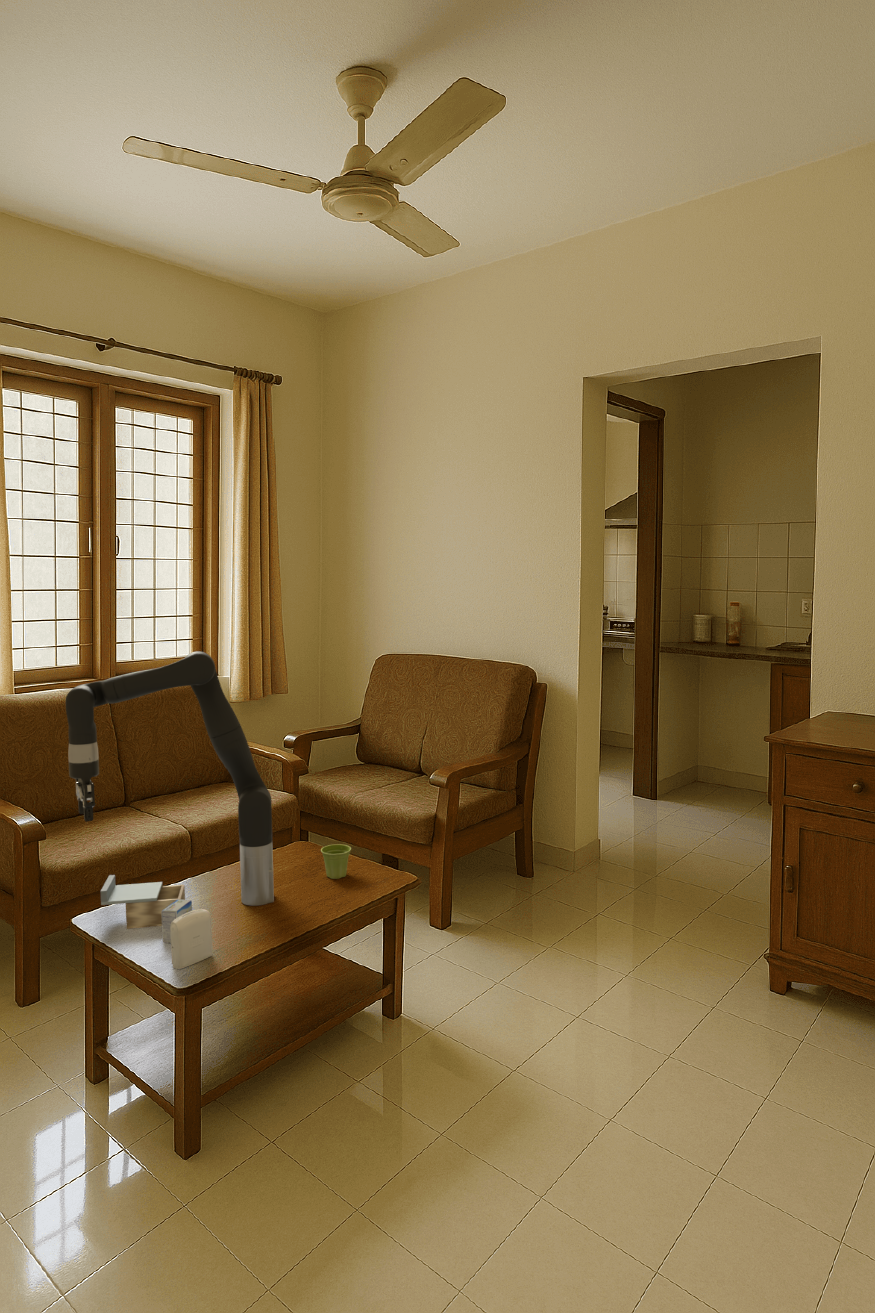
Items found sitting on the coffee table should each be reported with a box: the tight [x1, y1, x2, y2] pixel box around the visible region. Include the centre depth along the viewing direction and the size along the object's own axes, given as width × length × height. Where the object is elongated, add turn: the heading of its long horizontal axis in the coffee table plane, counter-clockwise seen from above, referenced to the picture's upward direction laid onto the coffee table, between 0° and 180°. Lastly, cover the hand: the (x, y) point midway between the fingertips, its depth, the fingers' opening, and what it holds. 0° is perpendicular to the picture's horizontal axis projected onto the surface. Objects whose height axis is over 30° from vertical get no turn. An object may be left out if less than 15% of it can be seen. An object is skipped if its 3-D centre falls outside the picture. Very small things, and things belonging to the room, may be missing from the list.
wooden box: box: [125, 884, 186, 930], centre depth 224 cm, size 14×11×7 cm
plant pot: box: [320, 843, 352, 880], centre depth 256 cm, size 9×9×9 cm
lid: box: [100, 874, 164, 906], centre depth 223 cm, size 14×12×4 cm
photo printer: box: [170, 908, 214, 970], centre depth 199 cm, size 10×4×12 cm, turn 140°
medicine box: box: [161, 899, 193, 944], centre depth 212 cm, size 8×4×9 cm, turn 168°
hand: (86, 817), depth 223 cm, fingers open, 8 cm apart
